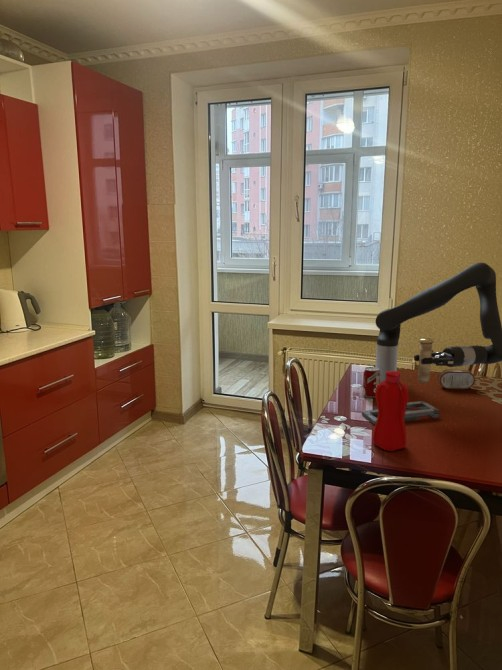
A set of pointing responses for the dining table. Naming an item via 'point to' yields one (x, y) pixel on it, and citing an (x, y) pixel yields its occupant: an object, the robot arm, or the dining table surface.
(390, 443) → the water bottle
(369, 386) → the soda can
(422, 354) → the pin
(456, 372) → the tin
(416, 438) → the dining table surface
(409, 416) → the grey ladder frame
